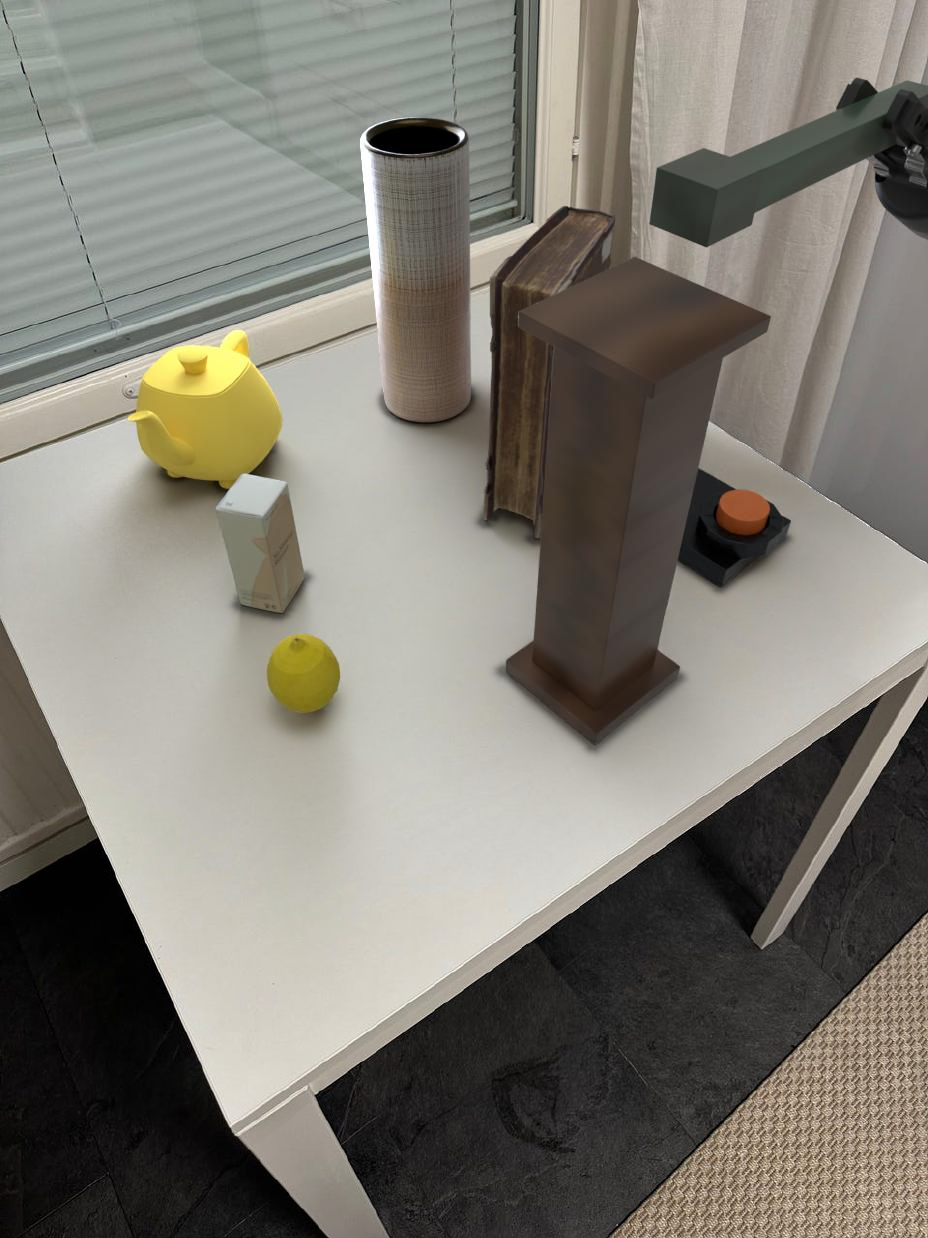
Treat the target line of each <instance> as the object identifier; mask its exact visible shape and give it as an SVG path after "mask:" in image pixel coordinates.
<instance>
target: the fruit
mask: <svg viewBox="0 0 928 1238" xmlns="http://www.w3.org/2000/svg"><path fill="white" fill-rule="evenodd" d="M340 670H341V669H340V664H339V661H338V658H337V656H336V655H335V653H334V652H333V650H332V649H331V647H330V646H329V645H328V644H327V643H325V642H324V641H323V640H322V639H320V638H318V637H317V636H315V635H312V634H311V635H310V634H307V633H297V634H296V633H295V634H292V635H289V636H287V637H285V638H283V639H282V640H281V641H280V642H278V643H277V645H276V646H275V647H274V649H273V650H272V652H271V653H270V656H269V660H268V663H267V667H266V680H267V686H268V688H269V690H270V692H271V694H272V696H273V698H275V700H276V701H277V702H278V703H279V704H280V705H282V706H283V707H285V708H286V709H288V710H289V711H292V712H296V713H300V714H305V713H306V714H308V713H312V712H316V711H319V710H320V709H322V708H324V707H326V706H327V705H328V704H329V703H330V702H331V701H332V700H333V698H334V696H335V694H336V693H337V691H338V689H339V686H340V681H341V680H340V679H341V671H340Z"/></svg>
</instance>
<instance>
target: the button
mask: <svg viewBox="0 0 928 1238" xmlns="http://www.w3.org/2000/svg"><path fill="white" fill-rule="evenodd" d="M767 501H768V499H766V498H765V497H764V496H762V494H759V493H757V492H755V491H752V490H749V489H737V490H732V491H729V492H726V493H725V494H724V495H723V496H722V497H721V498H720V501H719V505H718V509H717V513H716V520H717V522H718V524H719V525H720V526H721V527H722V528H724V529H726V530H727V531H729V532H731V533H736V534H741V535H752V534H757V533H759V532H760V531H762V530H763V528H764V527H765V524H766V521H767V518H768V514H769V511H770V506H769V503H768V502H767Z"/></svg>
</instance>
